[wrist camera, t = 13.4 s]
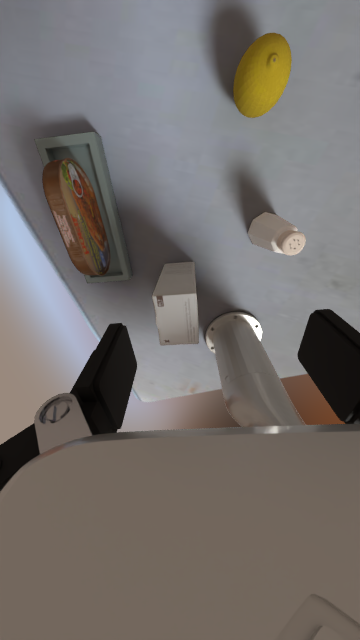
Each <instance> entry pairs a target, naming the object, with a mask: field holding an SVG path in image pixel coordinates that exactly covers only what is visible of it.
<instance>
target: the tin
mask: <svg viewBox="0 0 360 640" xmlns="http://www.w3.org/2000/svg"><path fill="white" fill-rule="evenodd" d="M42 180H43V188H44V192H45V196H46V199H47V202H48V204H49V207H50V209H51V212H52V214H53V217H54V219H55V222H56V224H57V227H58V229H59V232H60V234H61V237H62V239H63V242H64V244H65V247H66V249H67V251H68V254H69V256H70V259H71V261H72V263H73V264H74V266H75V267H76V268H77V269H78V270H79V271H80V272H81V273H83V274H85V275H100V276H102V275H105V274H106V273H107V272H108V270H109V266H110V259H111V255H110V247H109V243H108V239H107V236H106V232H105V228H104V225H103V221H102V218H101V214H100V211H99V207H98V204H97V200H96V196H95V193H94V190H93V187H92V185H91V183H90V180H89V178H88V177H87V175H86V173H85V172H84V170H83V169H82V167H81V166H80V165H79V164H78V163H77V162H76V161H74V160H73V159H71V158H65V159H63V160H55V161H51V162H49V163H47V164H46V166H45V167H44V170H43V176H42Z"/></svg>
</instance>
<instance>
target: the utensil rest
mask: <svg viewBox="0 0 360 640" xmlns="http://www.w3.org/2000/svg"><path fill="white" fill-rule="evenodd" d="M34 141H35V143H36V146H37V149H38V151H39V154H40V157H41V160H42V162H43V165H44V167H45V166H46V164H47V163H49V162H51V161H55V160H63V159H65V158H71V159H73V160H74V161H76V162H77V163H78V164H79V165H80V166H81V167H82V169H83V170H84V172H85V173H86V175H87V177H88V178H89V180H90V183H91V185H92V187H93V190H94V193H95V196H96V200H97V204H98V207H99V211H100V214H101V218H102V221H103V225H104V228H105V232H106V236H107V239H108V243H109V247H110V255H111V259H110V266H109V270H108V272H107V273H106V274H105V275H102V276H100V275H85V274H84V276H85V279H86V281H87V283H99V282H111V281H124V280H130V279H131V277H132V270H131V266H130V262H129V257H128V253H127V249H126V244H125V240H124V236H123V231H122V227H121V222H120V218H119V214H118V209H117V205H116V201H115V196H114V192H113V188H112V183H111V179H110V175H109V170H108V166H107V162H106V157H105V153H104V148H103V144H102V140H101V136H100V135H98V134H97V133H95V132H87V133H79V134H71V135H64V136H56V137H48V138H40V139H34Z"/></svg>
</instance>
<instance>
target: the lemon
mask: <svg viewBox="0 0 360 640" xmlns="http://www.w3.org/2000/svg"><path fill="white" fill-rule="evenodd" d="M290 70H291V51H290V47H289V44H288V43H287V41H286V39H285V38H284V37H283V36H281V35H280V34H277V33H268V34H265V35H263V36H261V37H259V38H258V39H257V40H256V41H255V42H254V43H252V44H251V45H250V46H249V48H248V49H247V51H246V52H245V54H244V55H243V57H242V59H241V61H240V63H239V65H238V68H237V71H236V75H235V79H234V88H233V93H234V101H235V104H236V107H237V108H238V110H239V112H240V113H241V114H243V115H244V116H246V117H249V118H255V117H259V116H262V115H263V114H265V113H266V112H268V111H269V110H270V109H271V108H272V107H273V106H274V105H275V104H276V102H277V101H278V99H279V98H280V97H281V95H282V93H283V91H284V89H285V87H286V84H287V82H288V78H289V75H290Z"/></svg>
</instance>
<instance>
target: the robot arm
mask: <svg viewBox="0 0 360 640" xmlns="http://www.w3.org/2000/svg"><path fill="white" fill-rule="evenodd" d="M261 337H262V328H261V326H260V324H259V322H258V321H257V319H256V318H255V317H253V316H252V315H250V314H247V313H244V312H230V313H226V314H223V315H221V316H219V317H217V318H216V319H215V320H213V321H212V322H211V324H210V325H209V326H208V328H207V331H206V336H205V338H206V343H207V346H208V348H209V349H210V350H211V351H212V352H213V353H215V355H216V360H217V365H218V370H219V375H220V380H221V385H222V390H223V395H224V400H225V404H226V407H227V409H228V411H229V413H230V414H231V416H232V417H233V418H234V420H235V421H236V422H237V423H239V424H240V425H241V426H242V427H234V428H206V429H181V430H154V431H136V432H119V433H117V429H120V428H121V426H122V423H123V419H124V415H125V411H126V408H127V404H128V400H129V396H130V392H131V389H132V385H133V381H134V377H135V373H136V370H137V362H136V358H135V355H134V351H133V348H132V344H131V341H130V338H129V334H128V331H127V328H126V326H123V325H122V323H115V324H110V325H109V326H108V328H107V330H106V332H105V333H104V335H103V337H102V339H101V341H100V342H99V344H98V346H97V348H96V350H94V351H93V353H92V354H91V356H90V358H89V360H88V362H87V363H86V365H85V367H84V369H83V371H82V372H81V374H80V376H79V377H78V379H77V381H76V383H75V385H74V386H73V388H72V390H71V392H70V393H63V394H58V395H56V396H54V397H52V398H51V399H49V400H47V401H46V402H45V403H44V404H43V405H42V406H41V407H40V408H39V410H38V411H37V413H36V415H35V420H34V424H32V425H31V426H29V427H28V428H26V429H24V430H23V431H21V432H20V433H18V434H17V435H15V436H14V437H12V438H10V439H9V440H7V441H6V442H4V443H3V444H1V445H0V640H360V333H359V332H358V331H357V330H355V329H354V328H353V327H352V326H351V325H349V324H348V323H347V322H346V321H344V320H343V319H342V318H341V317H339V316H338V315H337V314H336V313H334V312H333V311H332V310H330V309H323V310H315V311H314V312H313V313H312V314H311V315H310V317H309V320H308V323H307V326H306V329H305V332H304V336H303V339H302V342H301V345H300V348H299V351H298V359H299V361H300V362H301V364H302V365H303V367H304V368H305V370H306V371H307V373H308V374H309V376H310V377H311V378H312V380H313V381H314V383H315V384H316V386H317V387H318V389H319V390H320V392H321V393H322V395H323V396H324V398H325V399H326V400H327V402H328V403H329V405H330V406H331V408H332V409H333V411H334V412H335V414H336V415H337V416H338V418H339V419H340V420H341V421H344V422H345V424H332V425H305V423H304V422H303V420H302V419H301V417H300V415H299V414H298V412H297V411H296V409H295V407H294V405H293V404H292V402H291V400H290V398H289V396H288V394H287V393H286V391H285V389H284V387H283V385H282V383H281V381H280V379H279V377H278V375H277V373H276V371H275V369H274V367H273V365H272V363H271V361H270V359H269V357H268V355H267V353H266V351H265V350H264V348H263V346H262V344H261V342H260V340H261Z"/></svg>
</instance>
